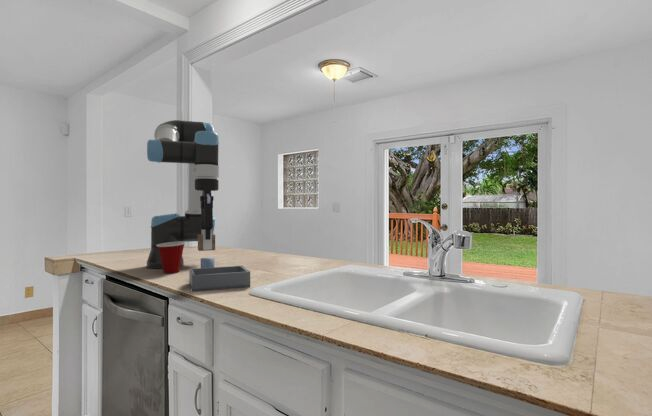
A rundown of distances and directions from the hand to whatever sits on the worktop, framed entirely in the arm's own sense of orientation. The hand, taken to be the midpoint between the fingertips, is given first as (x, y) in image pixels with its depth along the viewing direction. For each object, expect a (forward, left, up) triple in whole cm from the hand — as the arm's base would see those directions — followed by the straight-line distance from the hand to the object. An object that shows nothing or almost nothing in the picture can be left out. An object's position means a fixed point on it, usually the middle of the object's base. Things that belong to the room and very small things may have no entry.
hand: (206, 248), depth 121 cm
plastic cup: (-33, -10, -13) cm, 37 cm away
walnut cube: (0, 0, 0) cm, 0 cm away
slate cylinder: (-17, +2, -13) cm, 21 cm away
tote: (0, +4, -12) cm, 13 cm away
